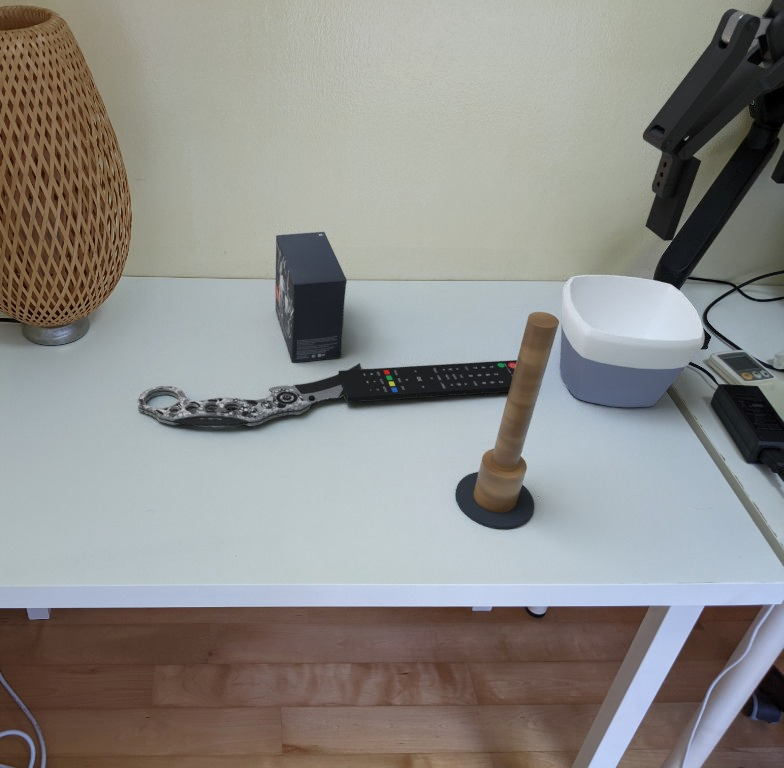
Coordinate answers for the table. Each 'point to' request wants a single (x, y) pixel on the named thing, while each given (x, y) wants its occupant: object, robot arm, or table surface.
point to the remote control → (426, 380)
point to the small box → (309, 296)
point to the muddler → (516, 419)
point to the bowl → (625, 338)
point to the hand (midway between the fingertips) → (733, 228)
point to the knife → (241, 404)
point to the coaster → (488, 518)
